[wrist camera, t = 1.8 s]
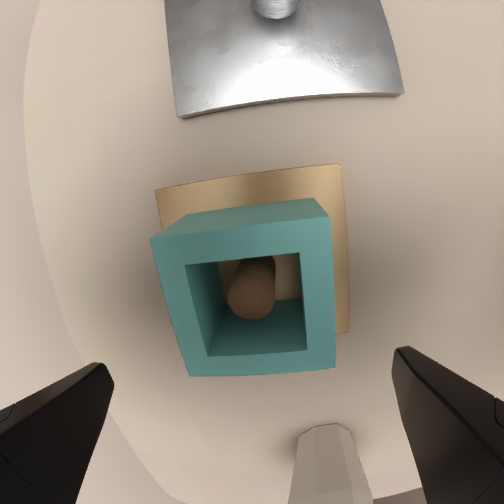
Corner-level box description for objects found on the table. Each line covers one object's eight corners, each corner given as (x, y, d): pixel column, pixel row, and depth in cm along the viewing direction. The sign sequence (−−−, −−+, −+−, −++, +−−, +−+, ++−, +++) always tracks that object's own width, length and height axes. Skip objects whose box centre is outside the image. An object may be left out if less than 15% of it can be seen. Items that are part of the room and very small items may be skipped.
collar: (313, 197, 15) (329, 216, 10) (322, 313, 17) (334, 367, 12) (186, 214, 16) (149, 239, 11) (210, 323, 18) (189, 376, 13)
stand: (338, 163, 15) (361, 166, 11) (347, 327, 18) (362, 373, 13) (158, 189, 16) (119, 202, 12) (194, 340, 19) (174, 385, 15)
